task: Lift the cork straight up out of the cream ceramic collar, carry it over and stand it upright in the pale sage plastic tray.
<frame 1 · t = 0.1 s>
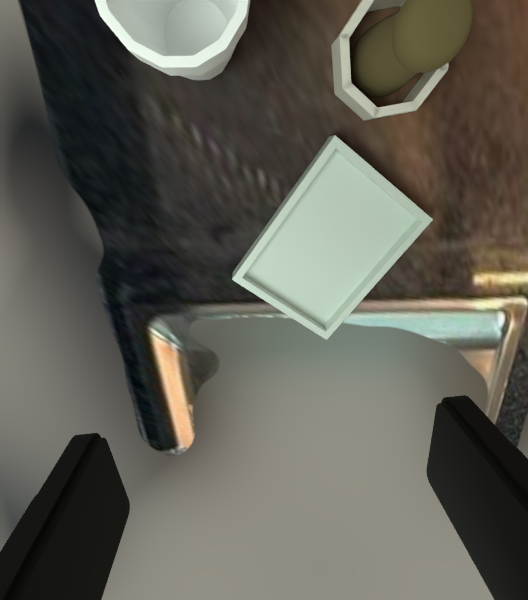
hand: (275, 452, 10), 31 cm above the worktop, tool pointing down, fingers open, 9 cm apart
tray: (325, 244, 39), on the worktop
collar: (382, 61, 32), on the worktop
foam cup: (198, 41, 31), on the worktop
cork: (381, 61, 32), resting in collar
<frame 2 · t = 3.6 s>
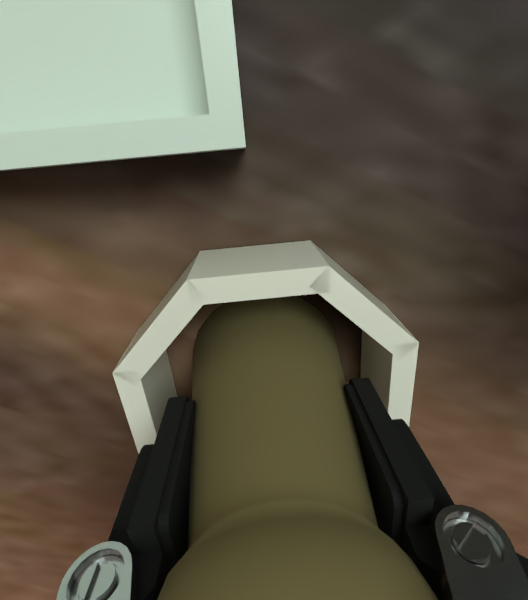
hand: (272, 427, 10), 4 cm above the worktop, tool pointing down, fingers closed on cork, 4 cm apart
collar: (266, 357, 14), on the worktop
cork: (265, 355, 14), resting in collar, touching gripper
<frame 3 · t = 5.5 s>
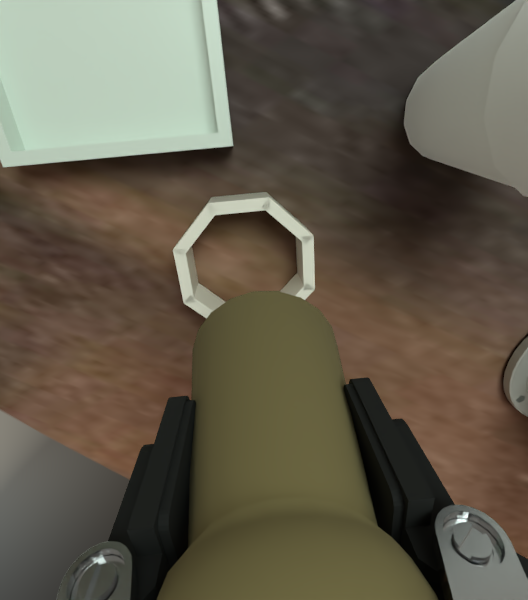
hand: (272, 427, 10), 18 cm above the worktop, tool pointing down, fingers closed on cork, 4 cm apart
collar: (245, 257, 26), on the worktop
foam cup: (447, 110, 23), on the worktop
cork: (265, 354, 14), point 13 cm above the worktop, touching gripper
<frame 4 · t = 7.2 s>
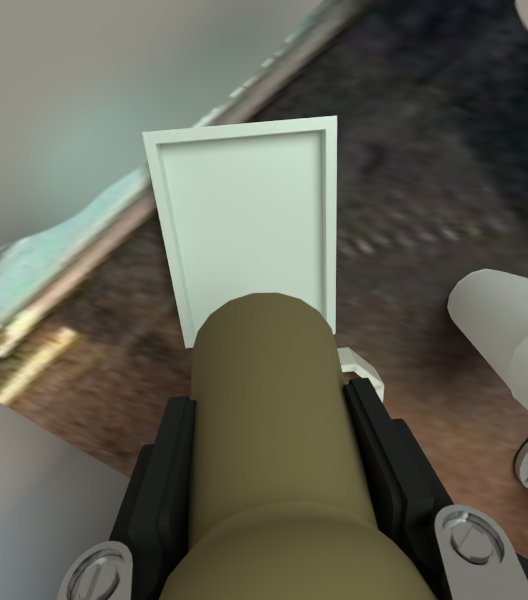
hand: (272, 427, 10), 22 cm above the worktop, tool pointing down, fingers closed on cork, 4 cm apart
tray: (251, 239, 30), on the worktop
collar: (329, 386, 37), on the worktop
foam cup: (477, 298, 34), on the worktop
cork: (264, 356, 14), point 18 cm above the worktop, touching gripper
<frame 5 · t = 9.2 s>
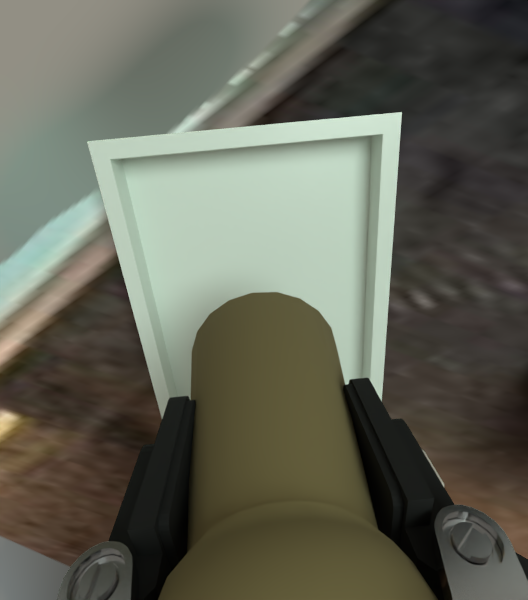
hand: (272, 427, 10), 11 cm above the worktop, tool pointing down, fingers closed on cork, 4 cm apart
tray: (260, 292, 21), on the worktop
cork: (264, 355, 14), point 7 cm above the worktop, touching gripper
when the fingers open (6 cm above the worktop, at t = 11.1 s): cork stays where it is, resting on tray.
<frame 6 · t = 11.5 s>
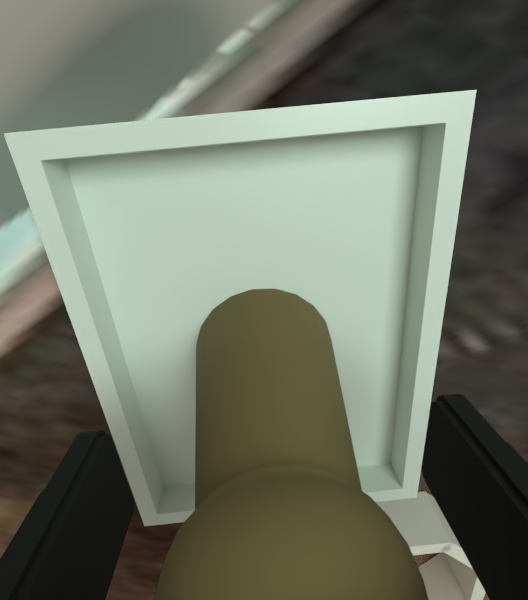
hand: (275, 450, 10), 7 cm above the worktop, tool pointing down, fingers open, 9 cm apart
tray: (263, 334, 16), on the worktop
collar: (387, 542, 23), on the worktop
cork: (264, 348, 15), point 1 cm above the worktop, touching tray
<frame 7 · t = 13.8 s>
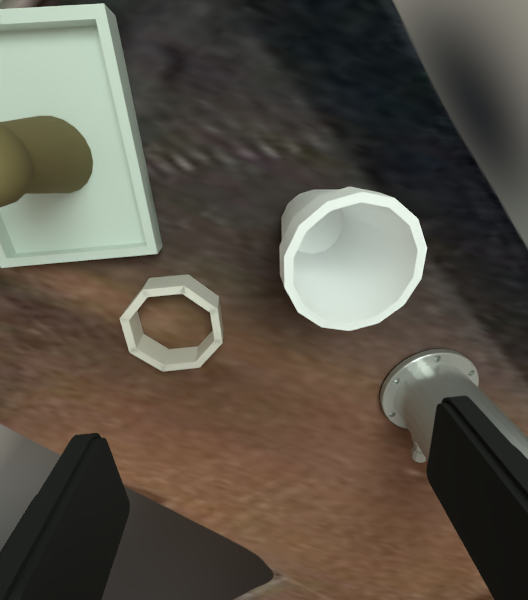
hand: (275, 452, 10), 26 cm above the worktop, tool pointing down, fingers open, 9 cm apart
tray: (60, 152, 29), on the worktop
collar: (177, 317, 37), on the worktop
foam cup: (311, 222, 34), on the worktop
cork: (56, 156, 28), point 1 cm above the worktop, touching tray
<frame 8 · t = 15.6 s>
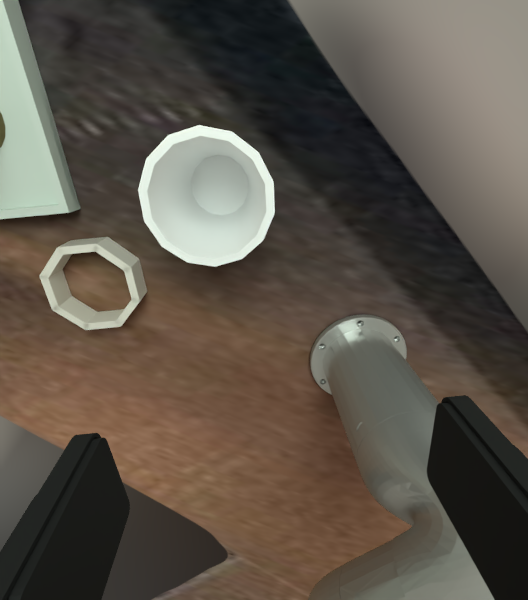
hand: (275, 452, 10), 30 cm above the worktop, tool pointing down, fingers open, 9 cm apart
collar: (101, 279, 39), on the worktop
foam cup: (220, 185, 35), on the worktop
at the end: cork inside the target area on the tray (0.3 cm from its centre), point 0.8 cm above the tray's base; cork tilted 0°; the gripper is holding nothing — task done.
